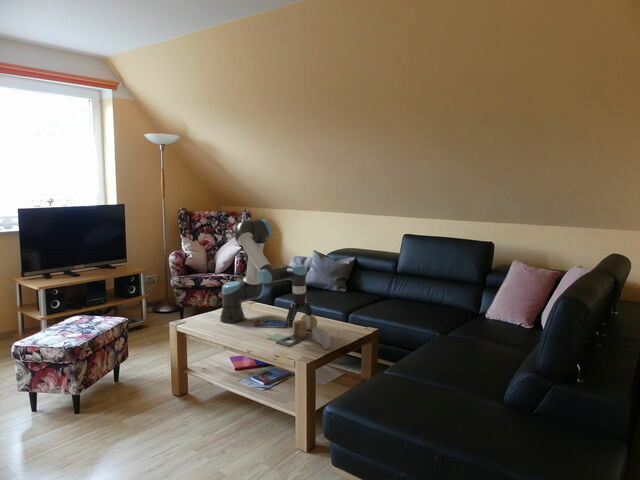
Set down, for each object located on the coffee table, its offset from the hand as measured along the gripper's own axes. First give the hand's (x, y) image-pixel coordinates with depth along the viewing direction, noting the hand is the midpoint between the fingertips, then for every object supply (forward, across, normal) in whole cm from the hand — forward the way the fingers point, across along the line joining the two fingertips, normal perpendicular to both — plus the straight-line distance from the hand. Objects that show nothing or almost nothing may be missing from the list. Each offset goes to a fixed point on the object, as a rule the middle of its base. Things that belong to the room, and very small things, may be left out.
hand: (299, 329), depth 269 cm
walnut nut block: (+4, 0, 0) cm, 5 cm away
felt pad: (+4, -8, +10) cm, 13 cm away
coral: (+5, +14, +5) cm, 15 cm away
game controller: (+5, -2, -16) cm, 17 cm away
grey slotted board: (+4, -4, 0) cm, 6 cm away
